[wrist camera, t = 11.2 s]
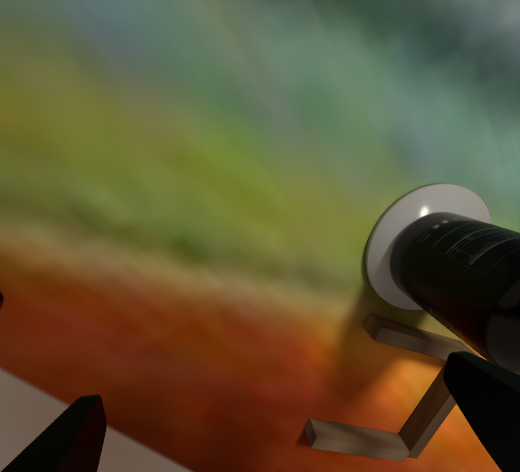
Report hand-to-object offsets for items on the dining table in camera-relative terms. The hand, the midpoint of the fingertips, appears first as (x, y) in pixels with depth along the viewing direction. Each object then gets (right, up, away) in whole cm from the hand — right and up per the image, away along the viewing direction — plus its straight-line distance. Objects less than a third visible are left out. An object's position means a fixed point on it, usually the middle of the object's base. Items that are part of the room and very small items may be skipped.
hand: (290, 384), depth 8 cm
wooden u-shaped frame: (+10, -10, +19) cm, 24 cm away
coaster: (+12, +3, +15) cm, 19 cm away
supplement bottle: (+12, +3, +15) cm, 19 cm away
